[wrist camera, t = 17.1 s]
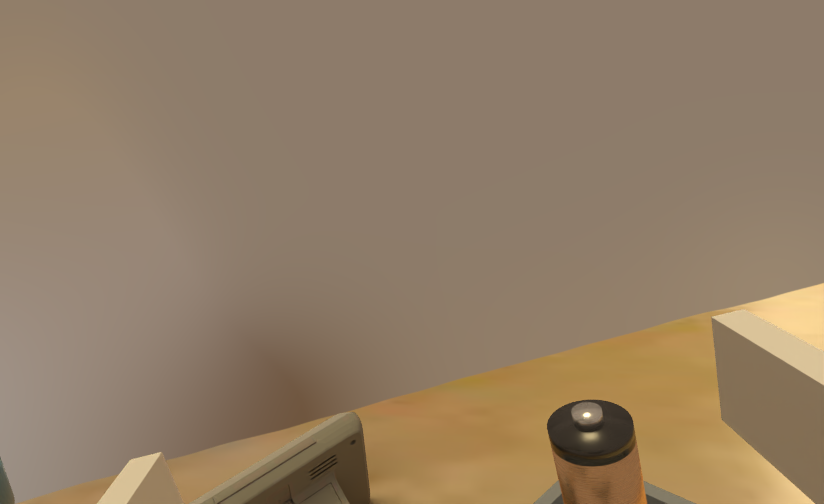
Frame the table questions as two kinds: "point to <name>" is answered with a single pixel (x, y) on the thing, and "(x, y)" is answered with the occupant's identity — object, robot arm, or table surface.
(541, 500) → the tray
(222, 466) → the table surface
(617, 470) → the cell
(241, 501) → the digital clock
